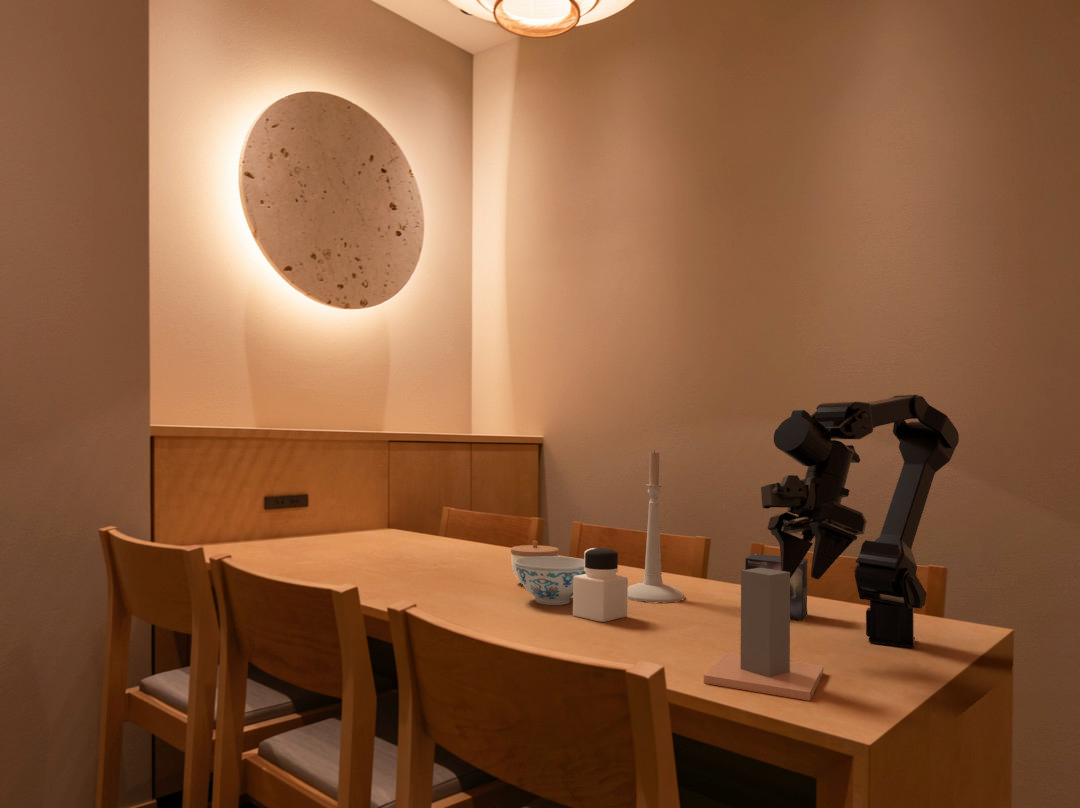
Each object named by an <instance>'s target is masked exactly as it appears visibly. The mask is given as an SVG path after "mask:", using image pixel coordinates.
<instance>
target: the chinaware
mask: <svg viewBox="0 0 1080 808" xmlns="http://www.w3.org/2000/svg"><path fill="white" fill-rule="evenodd" d="M515 565H516V570H517V574H518V577H519V579H520V581H521V583H522V584H523V585H522V584H521V585H522V586H523V588H525V589H526V591H527V592H528V593H530V595H532V596H533V597H535V599H534V600H535V602H536V603H537V604H541V605H545V606H546V605H547V606H562V605H567V604H569V603H570V602H571V599H570V598H573V579H574V576H576V575H582V574H586V572H585V571H584V558H579V557H570V556H536V557H525V558H520V559H517V560H516V561H515ZM520 581H519V582H520Z"/></svg>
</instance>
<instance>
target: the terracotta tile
mask: <svg viewBox="0 0 1080 808" xmlns="http://www.w3.org/2000/svg"><path fill="white" fill-rule="evenodd" d="M740 668H741V653H737V652H731V651H727V652H726V653H725V654H724V655H723V656H721V658H720V659H719V660H718V661H717V662H716V663H715V664H714V665H712V666H711V667H710V668H709V669H708V670H707V671H706V672H705V673H704V674H703V684H708V685H713V686H719V687H725V688H731V689H738V690H742V691H750V692H755V693H760V694H767V695H772V696H779V697H785V698H791V699H797V700H802V701H807V702H808V701H811V699H812V697H813V695H814V693H815V691H816V689H817V687H818V686H819V683H820V682H821V679H822V677H823V675H824V665H820V664H812V663H806V662H799V661H791V660H790V672H787V673H784V674H780V675H777V676H773V677H770V678H769V677H766V676H762V675H759V674H756V673H752V672H749V671H746V670H742V669H740Z"/></svg>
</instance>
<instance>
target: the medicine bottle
mask: <svg viewBox="0 0 1080 808" xmlns="http://www.w3.org/2000/svg"><path fill="white" fill-rule="evenodd" d="M583 555H584V557H583V559H584V571H585V572H586V574H582V575H576V576H574V579H573V596H572V615H573V617H576V618H582V619H586V620H590V621H596V622H600V623H605V622H609V621H614V620H618V619H622V618H626V617H628V599H627V595H628V586H629V584H628V582H629V579H628V577H627V576H625V575H619V574H617V573H618V572H619V571H618V569H619V562H618V561H619V560H618V559H619V553H618V552H617V551H616V550H615V549H613V548H612V549H611V548H609V547H608V548H607V547H592V548H589V549H588V548H587V549H586V550H585V551H584V553H583Z"/></svg>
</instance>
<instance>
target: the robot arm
mask: <svg viewBox="0 0 1080 808" xmlns="http://www.w3.org/2000/svg"><path fill="white" fill-rule="evenodd" d="M815 409H816V411H814V412H813V413H812V414H810V413H809V412H808V411H806V409H795V410H792V412H791V414H790V416H789V417H788V418H786V419H784V420H783V421H782V422H781V423H780V424H779V425H778V427H777V428H776V429H775V430H774V433H773V444H774V446H775V447H776V448H777V449H778V450H779V451H781V452H782V453H784V454H785V455H787V456H788V457H790V458H791V459H792V460H794V461H796V462H797V463H799V464H800V465H802V466H804V467H807V468H806V472H805V476H804V478H803V479H802V478H801V479H800V477H799V476H798V475H793V474H792V475H790V474H789V475H786V476H783V477H782V479H781V481H780V482H774V483H770V484H766V485H763V486H760V494H761V496H760V497H761V507H762V509H771V508H780V509H781V508H785V509H786V508H787V510H786V511H785V512H781V513H777V514H775V515H773V516H770V518H769V522H768V525H767V530H769V531H770V534H771V535H772V536H774V537H775V539H776V540H777V542H778V545H779V552H780V555H779V556H781V571H785V572H790V578H791V577H792V575H793V574H794V573H795V571H796V569H797V568H798V566H799V565H800V563H801V562H802V560H803V558H805V557H806V555H807V554H808V553H809V550H810V549H811V548H812V546H813V542H812V540H813V539H814V547H813V553H812V559H811V567H810V568H811V569H810V577H811V578H812V579H815V580H820V579H821V577H822V576H823V575H824V574H825V573H826V572H827V571H828V569H829V568H830V567H831V566H832V565H833V564H834V563H835V561H836V560H837V559H838V558H839V557H840V556H841V555H842V554H843V553H844V552H845V550H846V549H848V547H849V546H850V545H851V544H852V543H854V542H855V541H857V539H858V536H859V535H864V534H865V532H866V531H865V530H866V525H867V519H866V518H865V515H864V514H863V512H861V511H858V510H856V509H854V508H851V507H849V506H847V505H844V504H842V499H843V498H846V497H847V498H848V497H849V494H850V489H848V488H845V487H846V483H847V479H848V475H849V472H850V467H851V464H853V463H854V464H855V463H856V464H859V463H860V462H861V457H860V456H859V454H858V453H857V451H856V450H855V446H854V445H853V444H851V445H850V444H849V445H848V444H847V445H846V444H844V443H843V442H842V441H840V440H861V439H863V438H865V437H867V436H869V435H870V434H872V433H873V432H874V429H875V428H876V427H880V426H885V425H889V424H893V426H892V433H893V435H894V436H895V437H896V439H897V440H898V441H899V444H898V449H899V453H900V454H901V458H902V460H903V465H902V468H901V470H900V473H899V476H898V479H897V480H898V481H897V482H896V486H895V488H894V491H893V495H892V497H891V501H890V503H889V507H888V510H887V513H886V516H885V519H884V522H883V525H882V528H881V531H880V533H879V536H878V537H877V538H876V539H875V540H867V539H866V540H864V542H863V543H862V544H861V547H860V551H859V555H858V557H857V558H856V560H855V563H856V566H855V567H854V580H855V583H856V587H857V593H858V597H859V599H860V600H864V601H869V607H867V608H866V610H865V636H866V637H868V642H869V643H872V644H873V643H874V644H880V645H881V644H882V645H889V646H896V647H905V648H912V649H913V648H915V644H916V643H915V642H916V641H915V639H916V638H915V633H914V632H915V630H914V627H915V625H914V624H915V623H914V622H915V621H914V616H915V615H914V609H923V607H925V605H926V601H927V592H926V590H925V588H924V587H923V585H922V583H921V581H920V580H919V578H918V576H917V571H918V565H917V562H916V560H915V559H916V558H915V556H914V554H913V551H912V548H913V544H914V542H915V541H914V540H915V538H916V536H917V531H918V528H919V525H920V522H921V518H922V515H923V512H924V509H925V507H926V503H927V500H928V496H929V494H930V493H929V492H930V490H931V486H932V484H933V480H934V477H935V474H936V473H937V472H938V471H939V470H940V469H942V468H943V467H945V465H946V464H948V463H949V462H950V461H951V459H952V457H953V455H954V453H955V450H956V448H957V446H958V444H959V441H960V439H959V437H960V435H959V432H958V429H957V427H956V426H955V425H954V423H953V422H952V421H951V419H950V418H949V417H948V415H947V414H945V413H943V412H942V411H940V410H938V409H937V408H935V407H934V406H932V405H930V404H929V403H928V401H927V400H926V399H925V398H924V397H923V396H922V395H919V394H902V395H901V394H900V395H899V394H898V395H894V396H892V397H889V398H883V399H879V400H873V401H867V402H865V401H844V402H843V401H842V402H822V403H820V404H818V405H817V406H816V408H815ZM914 419H917V420H916V421H915V420H914ZM907 420H911V421H908V422H906V421H907ZM912 420H914V421H912Z"/></svg>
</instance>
